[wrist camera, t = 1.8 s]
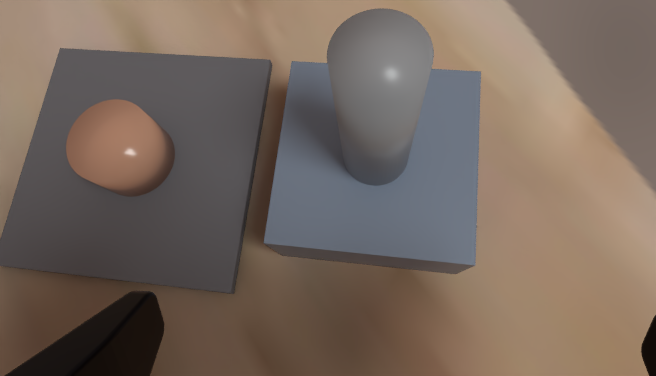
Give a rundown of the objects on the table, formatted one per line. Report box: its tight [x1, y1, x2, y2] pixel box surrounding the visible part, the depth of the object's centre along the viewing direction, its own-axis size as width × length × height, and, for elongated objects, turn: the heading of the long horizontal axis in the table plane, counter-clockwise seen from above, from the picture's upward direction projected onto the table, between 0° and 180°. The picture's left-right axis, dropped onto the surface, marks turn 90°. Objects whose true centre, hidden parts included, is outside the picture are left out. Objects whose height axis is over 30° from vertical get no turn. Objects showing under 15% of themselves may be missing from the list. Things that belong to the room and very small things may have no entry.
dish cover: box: [264, 9, 481, 274], centre depth 16 cm, size 8×8×11 cm
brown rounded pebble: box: [66, 99, 175, 197], centre depth 21 cm, size 4×4×2 cm
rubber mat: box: [0, 48, 272, 294], centre depth 23 cm, size 12×12×1 cm
